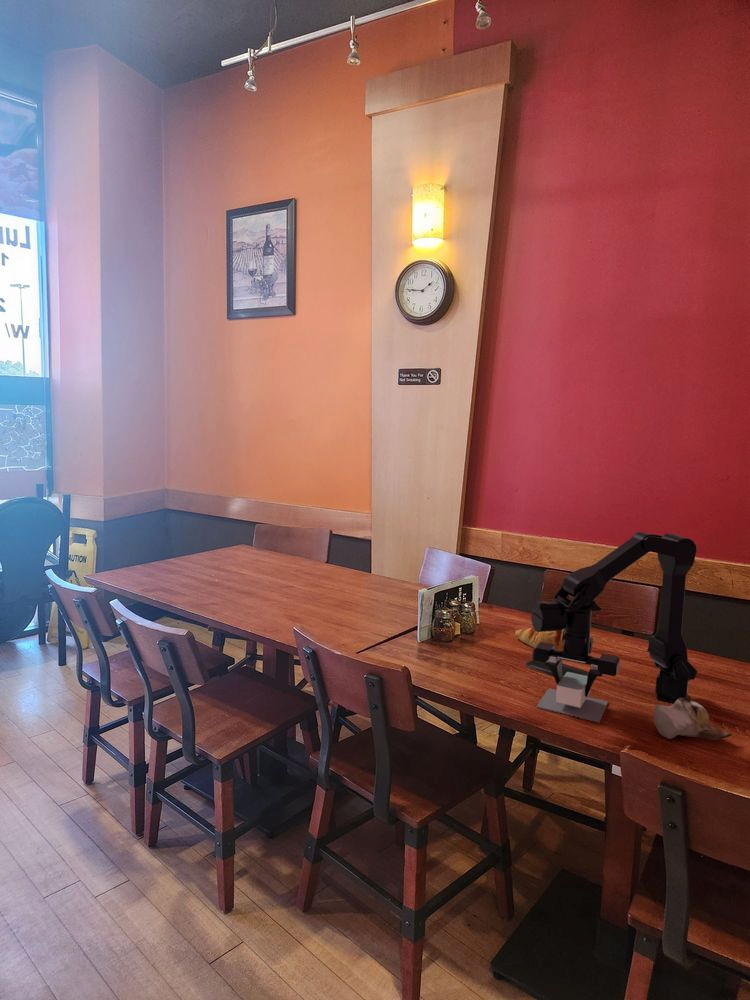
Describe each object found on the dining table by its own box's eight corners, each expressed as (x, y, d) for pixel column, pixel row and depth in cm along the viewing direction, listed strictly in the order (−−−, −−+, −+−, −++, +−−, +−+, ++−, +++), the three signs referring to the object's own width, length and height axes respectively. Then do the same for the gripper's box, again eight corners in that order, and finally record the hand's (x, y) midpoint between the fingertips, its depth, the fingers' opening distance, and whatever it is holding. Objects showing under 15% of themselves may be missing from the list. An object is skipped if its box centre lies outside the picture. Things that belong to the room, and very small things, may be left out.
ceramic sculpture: (643, 686, 143) (706, 687, 145) (637, 723, 144) (700, 723, 146) (671, 709, 132) (738, 710, 135) (665, 749, 134) (732, 749, 136)
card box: (580, 707, 147) (581, 690, 147) (555, 701, 150) (556, 685, 149) (590, 693, 155) (591, 676, 154) (566, 687, 158) (567, 671, 157)
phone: (575, 681, 164) (524, 663, 175) (575, 685, 164) (523, 667, 175) (590, 672, 170) (539, 655, 180) (590, 676, 170) (539, 659, 180)
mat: (607, 703, 154) (608, 701, 154) (599, 722, 144) (599, 720, 144) (548, 689, 161) (548, 688, 161) (536, 707, 151) (536, 706, 151)
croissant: (510, 652, 194) (505, 632, 190) (523, 628, 201) (518, 609, 197) (580, 669, 182) (576, 648, 178) (592, 643, 188) (588, 623, 184)
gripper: (625, 625, 152) (621, 689, 155) (545, 612, 161) (542, 672, 164) (618, 640, 143) (613, 708, 145) (533, 625, 152) (530, 689, 154)
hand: (573, 693), depth 152 cm, fingers closed on card box, 6 cm apart
